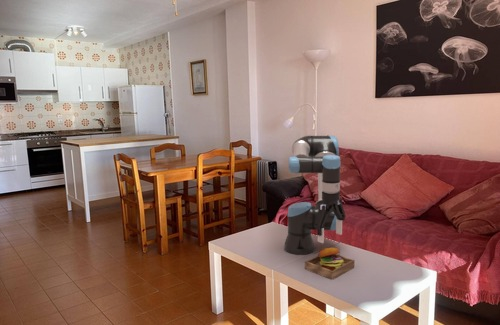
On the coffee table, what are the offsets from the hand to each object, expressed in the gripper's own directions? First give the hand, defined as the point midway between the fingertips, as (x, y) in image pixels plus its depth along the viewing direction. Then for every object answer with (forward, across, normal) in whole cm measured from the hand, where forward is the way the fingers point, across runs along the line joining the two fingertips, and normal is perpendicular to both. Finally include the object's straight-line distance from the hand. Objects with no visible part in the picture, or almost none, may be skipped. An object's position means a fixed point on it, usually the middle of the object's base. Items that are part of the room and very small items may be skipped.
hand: (330, 238), depth 168 cm
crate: (+14, 0, 0) cm, 14 cm away
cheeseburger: (+13, -1, -1) cm, 13 cm away
